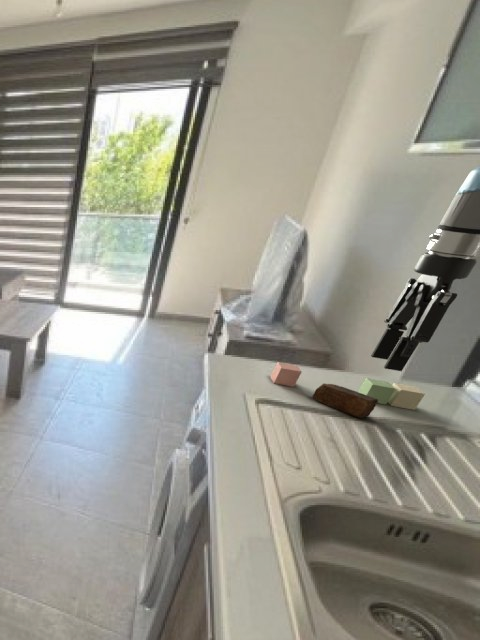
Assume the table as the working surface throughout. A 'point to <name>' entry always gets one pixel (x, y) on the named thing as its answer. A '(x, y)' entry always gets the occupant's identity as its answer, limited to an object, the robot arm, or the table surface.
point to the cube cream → (405, 396)
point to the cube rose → (285, 374)
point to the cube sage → (377, 390)
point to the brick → (345, 400)
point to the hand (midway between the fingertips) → (385, 363)
